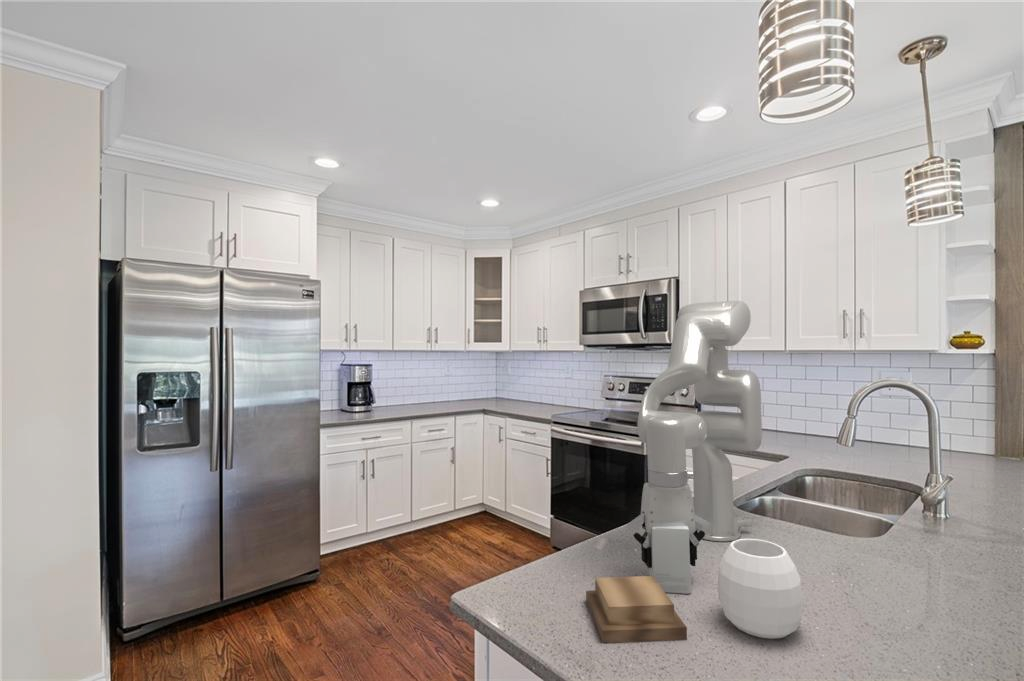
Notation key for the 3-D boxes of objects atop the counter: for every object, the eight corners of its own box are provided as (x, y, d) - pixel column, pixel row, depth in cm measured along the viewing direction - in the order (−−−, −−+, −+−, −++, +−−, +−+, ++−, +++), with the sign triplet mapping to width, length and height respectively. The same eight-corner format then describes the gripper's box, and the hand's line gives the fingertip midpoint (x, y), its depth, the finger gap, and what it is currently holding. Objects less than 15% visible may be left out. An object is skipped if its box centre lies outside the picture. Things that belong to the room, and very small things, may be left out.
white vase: (707, 607, 93) (705, 533, 94) (779, 607, 93) (777, 533, 93) (737, 648, 80) (734, 563, 81) (821, 648, 80) (818, 563, 80)
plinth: (658, 598, 97) (657, 572, 97) (687, 639, 83) (686, 608, 83) (586, 601, 96) (585, 574, 96) (602, 643, 82) (602, 612, 82)
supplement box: (691, 594, 98) (689, 529, 98) (652, 592, 99) (650, 527, 100) (686, 577, 105) (684, 517, 105) (649, 575, 107) (648, 515, 107)
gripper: (701, 472, 107) (703, 555, 107) (620, 475, 106) (622, 558, 106) (717, 481, 99) (719, 570, 99) (630, 484, 99) (632, 574, 98)
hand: (669, 563), depth 102 cm, fingers closed on supplement box, 8 cm apart
